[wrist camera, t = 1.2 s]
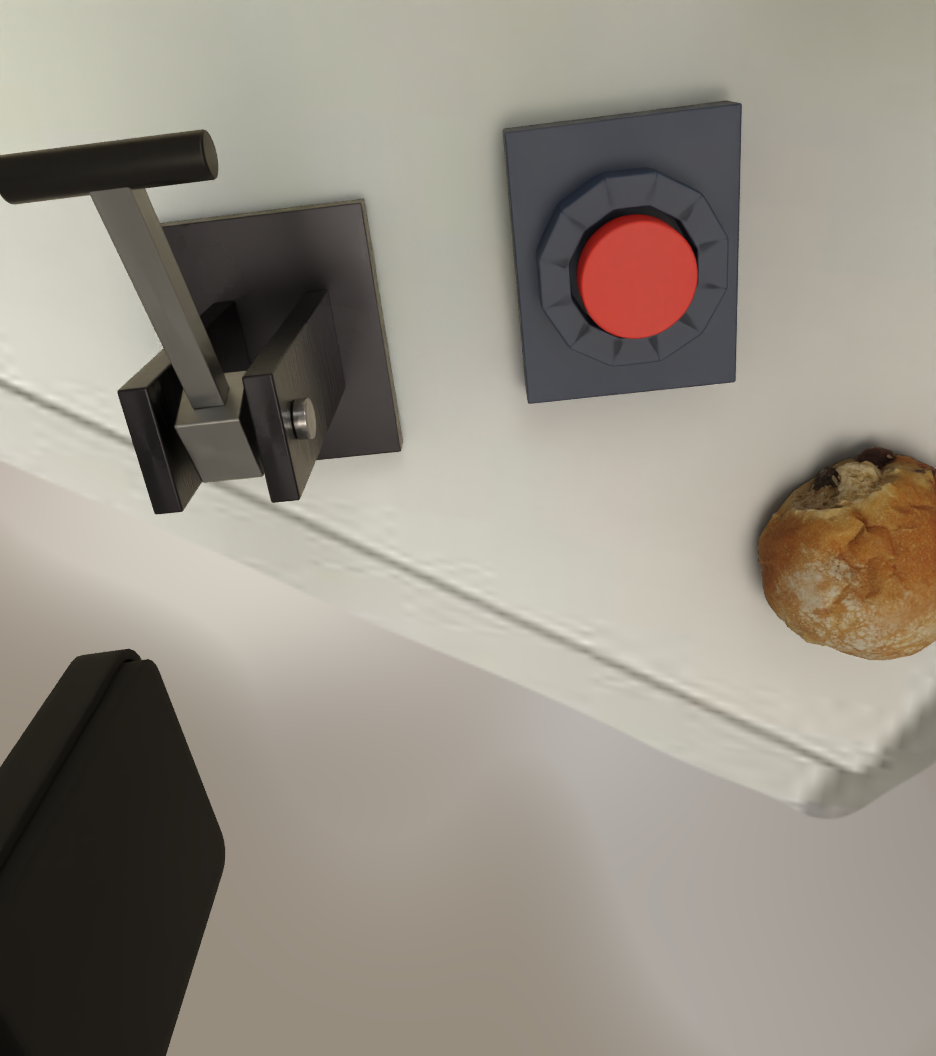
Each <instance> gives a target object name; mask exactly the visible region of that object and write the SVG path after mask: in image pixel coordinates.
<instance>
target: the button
mask: <svg viewBox="0 0 936 1056" xmlns="http://www.w3.org/2000/svg"><path fill="white" fill-rule="evenodd" d="M697 280H698V269H697V263H696V258H695V256H694V253H693V251H692V249H691V247H690V245H689V244H688V242H687V241H686V239H685V238H684V237H683V236H682V235H681V234H680V233H679V232H677V231H676V230H675V229H674V228H673V227H671V226H670V225H669V224H668V223H666V222H664V221H663V220H661V219H659V218H656V217H654V216H650V215H644V214H630V215H625V216H621V217H618V218H615V219H613V220H611V221H609V222H607V223H606V224H604V225H603V226H601V227H600V228H599V229H598V230H597V231H596V232H595V233H594V234H593V235H592V236H591V237H590V238H589V240H588V241H587V243H586V244H585V246H584V248H583V250H582V252H581V254H580V257H579V261H578V265H577V287H578V291H579V294H580V296H581V299H582V301H583V303H584V306H585V308H586V310H587V312H588V314H589V315H590V317H591V318H592V319H593V321H594V322H595V323H596V324H597V325H598V326H599V327H601V328H602V329H604V330H605V331H607V332H609V333H611V334H613V335H615V336H618V337H622V338H629V339H640V338H646V337H650V336H653V335H656V334H659V333H661V332H663V331H665V330H666V329H668V328H669V327H671V326H672V325H673V324H675V323H676V322H677V321H678V320H679V319H680V318H681V317H682V315H683V314H684V313H685V312H686V310H687V309H688V307H689V305H690V304H691V301H692V299H693V297H694V294H695V291H696V287H697Z"/></svg>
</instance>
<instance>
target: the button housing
mask: <svg viewBox="0 0 936 1056" xmlns="http://www.w3.org/2000/svg"><path fill="white" fill-rule="evenodd" d="M741 114H742V104H741V103H737V102H730V101H722V102H714V103H706V104H698V105H690V106H682V107H674V108H666V109H658V110H649V111H641V112H633V113H625V114H617V115H609V116H601V117H593V118H585V119H577V120H569V121H561V122H553V123H545V124H537V125H529V126H521V127H513V128H505V129H503V139H504V150H505V161H506V172H507V184H508V195H509V206H510V217H511V228H512V240H513V251H514V262H515V273H516V284H517V296H518V307H519V318H520V329H521V340H522V352H523V363H524V374H525V385H526V393H527V400H528V403H529V404H532V403H541V402H551V401H560V400H570V399H579V398H588V397H598V396H607V395H617V394H626V393H636V392H645V391H655V390H664V389H674V388H683V387H692V386H702V385H711V384H721V383H730V382H735V380H736V336H737V291H738V247H739V203H740V158H741ZM630 214H644V215H650V216H654V217H656V218H659V219H661V220H663V221H664V222H666V223H668V224H669V225H670V226H671V227H673V228H674V229H675V230H676V231H677V232H679V233H680V234H681V235H682V236H683V237H684V238H685V239H686V241H687V242H688V244H689V245H690V247H691V249H692V251H693V253H694V256H695V258H696V263H697V269H698V280H697V287H696V291H695V294H694V297H693V299H692V301H691V304H690V305H689V307H688V309H687V310H686V312H685V313H684V314H683V315H682V317H681V318H680V319H679V320H678V321H677V322H676V323H675V324H673V325H672V326H671V327H669V328H668V329H666V330H665V331H663V332H661V333H659V334H656V335H653V336H650V337H646V338H640V339H629V338H622V337H618V336H615V335H613V334H611V333H609V332H607V331H605V330H604V329H602V328H601V327H599V326H598V325H597V324H596V323H595V322H594V321H593V319H592V318H591V317H590V315H589V314H588V312H587V310H586V308H585V306H584V303H583V301H582V299H581V296H580V294H579V291H578V287H577V265H578V261H579V257H580V254H581V252H582V250H583V248H584V246H585V244H586V243H587V241H588V240H589V238H590V237H591V236H592V235H593V234H594V233H595V232H596V231H597V230H598V229H599V228H600V227H601V226H603V225H604V224H606V223H607V222H609V221H611V220H613V219H615V218H618V217H621V216H625V215H630Z"/></svg>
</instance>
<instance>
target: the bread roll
mask: <svg viewBox="0 0 936 1056" xmlns="http://www.w3.org/2000/svg"><path fill="white" fill-rule="evenodd" d="M758 547H759V549H758V554H759V559H758V561H759V562H760V565H761V569H762V580H763V589H764V594H765V597H766V600H767V602H768V604H769V605H770V607H771V608H772V609H773V610H774V612H775V613H776V614H777V616H778V617H779V618H780V619H782V620H783V621H784V622H785V623H786V625H787V627H789V628H790V629H791V630H792V631H794V632H795V633H796V634H798V635H800V637H801V638H803V639H804V640H805V641H806V642H808V643H813V644H818V645H822V646H829V647H831V648H834V649H836V650H838V651H840V652H843V653H846V654H849V655H854V656H857V657H861V658H865V659H869V660H889V659H895V658H900V657H905V656H910V655H913V654H915V653H917V652H919V651H921V650H922V649H924V648H925V647H927V646H928V645H930V644H931V643H932V642H934V641H935V640H936V469H935V468H933V467H931V466H929V465H927V464H923V463H921V462H918V461H916V460H915V459H914V458H912V457H908V456H902V455H897V454H893V453H892V452H891V451H889V450H886V449H884V448H880V447H874V448H872V449H871V448H868V449H866V450H864V451H863V452H862V453H861V454H860V455H858V456H857V458H856V459H851V458H848V459H845V460H842V461H840V462H838V463H837V464H835V465H833V466H831V467H825V468H824V469H823V470H822V471H821V472H820V473H819V474H818V475H817V476H816V477H814V478H813V479H811V480H810V481H808V482H807V483H805V484H803V485H801V486H800V487H799V488H797V489H795V490H794V491H793V492H792V493H791V495H790V496H789V497H788V498H787V499H786V500H785V502H784V503H783V505H782V506H781V508H780V509H779V510H778V511H777V512H775V513H773V514H772V518H771V519H770V521H769V522H768V524H767V526H766V527H765V529H764V530H763V532H762V534H761V536H760V538H759V540H758Z"/></svg>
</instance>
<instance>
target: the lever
mask: <svg viewBox="0 0 936 1056" xmlns="http://www.w3.org/2000/svg"><path fill="white" fill-rule="evenodd" d="M217 176H218V158H217V153H216V149H215V146H214V143H213V140H212V138H211V136H210V134H209V133H208V132H207V131H206V130H203V129H202V130H194V131H187V132H179V133H171V134H163V135H155V136H147V137H140V138H132V139H124V140H116V141H108V142H100V143H92V144H85V145H77V146H69V147H61V148H53V149H45V150H38V151H30V152H22V153H14V154H6V155H0V194H1V196H2V197H3V198H4V200H5V201H7V202H8V203H10V204H22V203H30V202H38V201H46V200H54V199H62V198H70V197H78V196H86V195H90V196H91V198H92V200H93V202H94V204H95V206H96V208H97V210H98V212H99V214H100V217H101V219H102V221H103V223H104V225H105V227H106V229H107V231H108V233H109V235H110V237H111V239H112V241H113V244H114V246H115V248H116V250H117V252H118V254H119V256H120V258H121V260H122V262H123V264H124V266H125V269H126V271H127V273H128V275H129V277H130V279H131V281H132V283H133V285H134V287H135V289H136V291H137V294H138V296H139V298H140V300H141V302H142V304H143V306H144V308H145V310H146V312H147V314H148V316H149V318H150V321H151V323H152V325H153V327H154V329H155V331H156V333H157V335H158V337H159V339H160V341H161V343H162V346H163V348H164V350H165V352H166V354H167V356H168V358H169V360H170V362H171V364H172V366H173V368H174V371H175V373H176V375H177V377H178V379H179V381H180V383H181V385H182V387H183V389H182V393H181V398H180V402H179V406H178V410H177V415H176V419H175V423H174V428H175V430H176V432H177V434H178V436H179V438H180V440H181V442H182V444H183V446H184V448H185V449H186V451H187V453H188V455H189V457H190V459H191V461H192V463H193V465H194V467H195V469H196V471H197V473H198V475H199V477H200V479H201V481H202V482H204V483H205V482H215V481H224V480H234V479H244V478H254V477H262V476H263V475H264V470H263V465H262V461H261V457H260V453H259V449H258V444H257V440H256V436H255V432H254V428H253V424H252V419H251V415H250V411H249V407H248V403H247V399H246V394H245V390H244V386H243V382H242V376H243V375H244V374H245V372H246V371H238V372H229V373H223V371H222V368H221V366H220V363H219V361H218V359H217V356H216V354H215V352H214V349H213V347H212V345H211V342H210V340H209V338H208V335H207V333H206V331H205V328H204V326H203V324H202V321H201V319H200V316H199V314H198V312H197V309H196V307H195V305H194V302H193V300H192V298H191V295H190V293H189V291H188V288H187V286H186V284H185V281H184V279H183V276H182V274H181V272H180V269H179V267H178V265H177V262H176V260H175V258H174V255H173V253H172V251H171V248H170V246H169V244H168V241H167V239H166V237H165V234H164V232H163V229H162V227H161V225H160V222H159V220H158V218H157V215H156V213H155V211H154V208H153V206H152V204H151V201H150V199H149V197H148V194H147V192H146V190H145V188H151V187H159V186H167V185H175V184H183V183H191V182H200V181H208V180H214V179H216V178H217Z"/></svg>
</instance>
